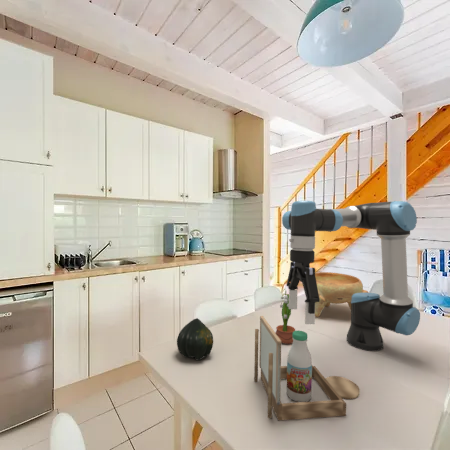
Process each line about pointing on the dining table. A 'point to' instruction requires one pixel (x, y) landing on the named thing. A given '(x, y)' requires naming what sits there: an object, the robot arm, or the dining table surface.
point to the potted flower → (285, 322)
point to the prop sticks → (270, 373)
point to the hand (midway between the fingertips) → (300, 315)
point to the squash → (195, 340)
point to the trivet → (344, 387)
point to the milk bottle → (299, 369)
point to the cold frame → (309, 409)
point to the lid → (268, 345)
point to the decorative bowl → (336, 289)
